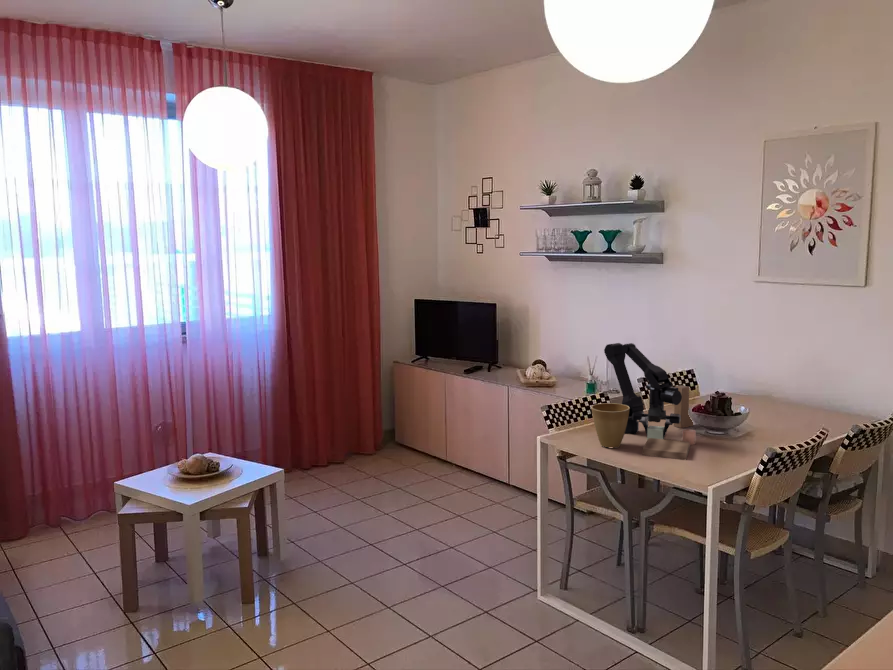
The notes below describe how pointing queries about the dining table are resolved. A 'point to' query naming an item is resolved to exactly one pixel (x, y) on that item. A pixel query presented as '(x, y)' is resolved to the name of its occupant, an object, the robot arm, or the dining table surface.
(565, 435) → the dining table surface
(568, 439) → the dining table surface
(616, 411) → the plant pot
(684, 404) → the wooden block
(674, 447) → the walnut base
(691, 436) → the salmon pink cube
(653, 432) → the sage cube
